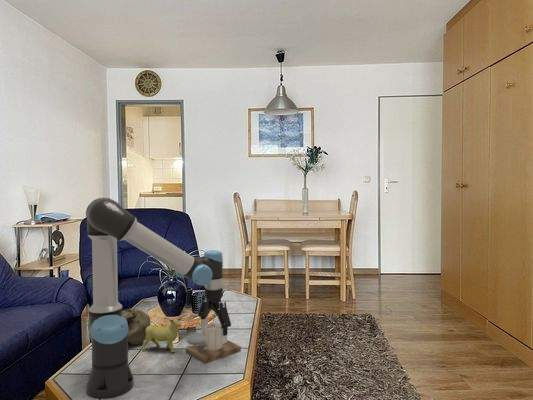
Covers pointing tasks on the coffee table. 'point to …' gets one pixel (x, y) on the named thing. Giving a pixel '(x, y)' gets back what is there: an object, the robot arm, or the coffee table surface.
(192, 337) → the coaster
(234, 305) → the coffee table surface
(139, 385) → the coffee table surface
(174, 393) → the coffee table surface
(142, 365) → the coffee table surface
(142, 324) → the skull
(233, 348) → the lock base
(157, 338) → the toy
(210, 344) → the grey rounded block
